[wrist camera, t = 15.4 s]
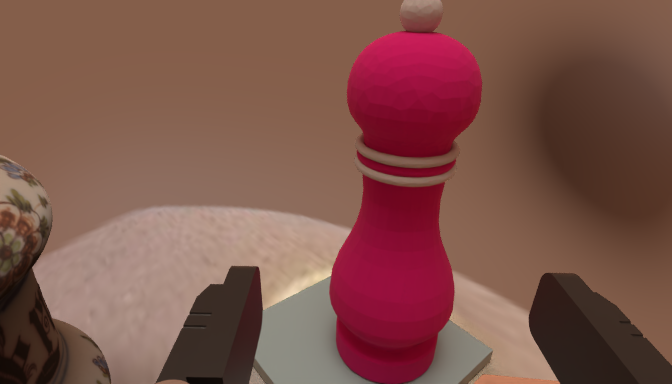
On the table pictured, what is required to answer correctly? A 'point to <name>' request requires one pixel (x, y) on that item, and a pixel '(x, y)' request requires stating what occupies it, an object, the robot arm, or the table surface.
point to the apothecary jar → (35, 295)
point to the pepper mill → (402, 196)
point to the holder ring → (511, 380)
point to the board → (322, 354)
